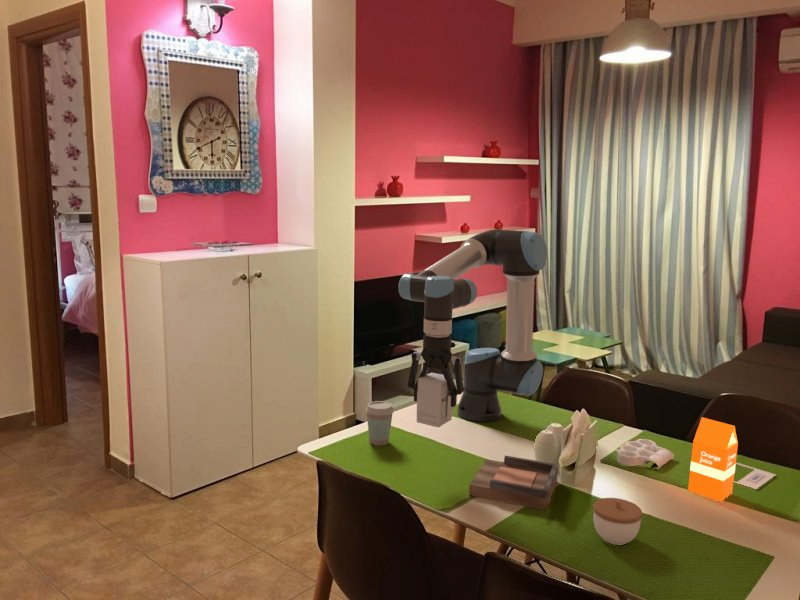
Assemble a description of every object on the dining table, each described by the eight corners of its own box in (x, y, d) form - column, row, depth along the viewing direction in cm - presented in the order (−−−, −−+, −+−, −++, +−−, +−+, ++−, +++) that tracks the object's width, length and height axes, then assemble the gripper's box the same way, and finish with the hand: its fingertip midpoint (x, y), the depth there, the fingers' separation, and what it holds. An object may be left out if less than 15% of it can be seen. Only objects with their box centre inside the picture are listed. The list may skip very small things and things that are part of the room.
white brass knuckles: (653, 476, 200) (604, 461, 210) (677, 458, 214) (630, 445, 223) (654, 464, 200) (605, 450, 209) (678, 447, 213) (631, 434, 223)
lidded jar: (614, 555, 157) (617, 516, 155) (581, 533, 166) (584, 496, 165) (649, 545, 162) (653, 506, 160) (615, 524, 171) (618, 487, 170)
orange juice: (699, 483, 196) (707, 413, 192) (732, 494, 189) (741, 422, 186) (687, 491, 190) (695, 420, 187) (720, 502, 184) (729, 429, 180)
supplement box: (439, 428, 189) (441, 382, 187) (415, 422, 193) (417, 377, 191) (452, 420, 195) (454, 376, 193) (429, 414, 199) (430, 371, 197)
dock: (485, 469, 201) (486, 452, 200) (557, 481, 194) (558, 464, 193) (468, 495, 184) (469, 477, 183) (546, 510, 177) (547, 491, 176)
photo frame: (756, 488, 192) (691, 467, 204) (755, 492, 192) (690, 470, 205) (776, 473, 202) (712, 454, 214) (775, 477, 202) (712, 458, 215)
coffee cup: (394, 438, 222) (395, 401, 220) (391, 448, 214) (392, 410, 211) (367, 436, 223) (367, 399, 221) (363, 446, 214) (363, 408, 212)
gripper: (396, 333, 190) (394, 414, 194) (471, 341, 183) (467, 425, 187) (405, 327, 197) (403, 405, 201) (478, 335, 190) (474, 416, 194)
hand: (434, 415), depth 194 cm, fingers closed on supplement box, 8 cm apart
